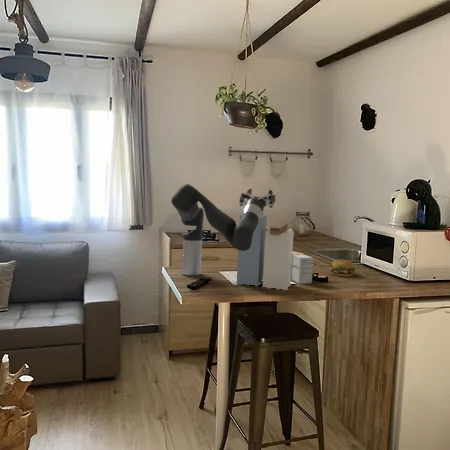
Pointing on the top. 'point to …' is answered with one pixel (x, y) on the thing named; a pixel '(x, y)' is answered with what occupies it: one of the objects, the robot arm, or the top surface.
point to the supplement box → (302, 269)
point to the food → (342, 268)
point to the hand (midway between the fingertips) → (260, 190)
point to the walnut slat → (278, 228)
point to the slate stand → (253, 256)
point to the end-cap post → (278, 260)
